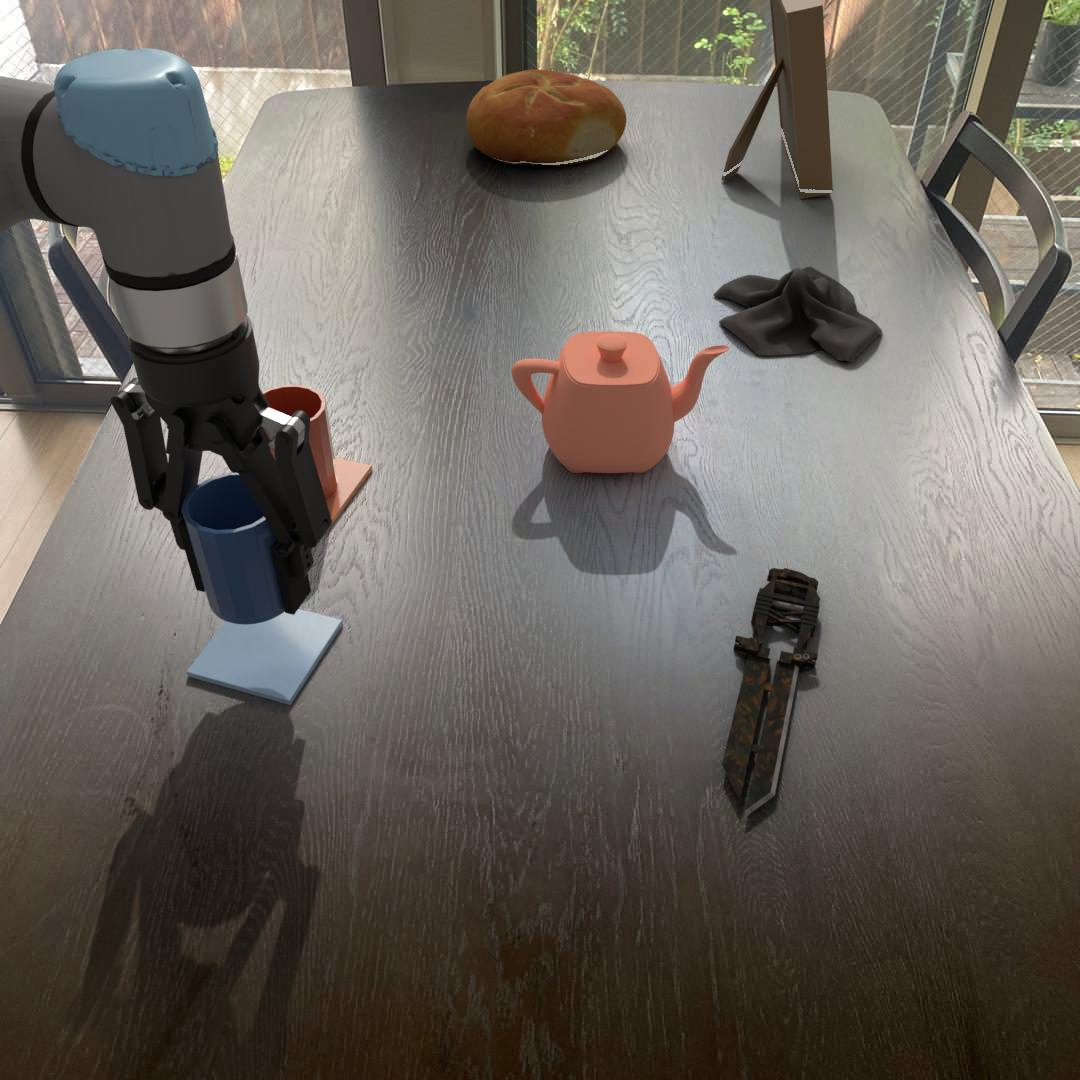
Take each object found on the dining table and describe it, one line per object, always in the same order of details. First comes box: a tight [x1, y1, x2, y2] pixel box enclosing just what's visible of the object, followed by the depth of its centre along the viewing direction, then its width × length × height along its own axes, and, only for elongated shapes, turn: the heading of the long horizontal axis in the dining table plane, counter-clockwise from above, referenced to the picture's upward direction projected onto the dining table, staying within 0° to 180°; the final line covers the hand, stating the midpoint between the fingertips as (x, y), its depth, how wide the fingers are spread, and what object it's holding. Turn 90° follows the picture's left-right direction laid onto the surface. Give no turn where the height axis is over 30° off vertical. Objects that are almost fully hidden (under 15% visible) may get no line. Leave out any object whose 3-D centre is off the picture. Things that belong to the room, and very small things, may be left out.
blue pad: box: [186, 608, 344, 706], centre depth 86 cm, size 9×9×1 cm
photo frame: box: [720, 0, 834, 200], centre depth 149 cm, size 15×22×25 cm
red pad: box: [324, 457, 374, 536], centre depth 101 cm, size 10×10×1 cm
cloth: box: [712, 266, 883, 363], centre depth 124 cm, size 22×19×6 cm
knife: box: [721, 567, 821, 819], centre depth 83 cm, size 25×6×1 cm, turn 157°
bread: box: [465, 69, 627, 167], centre depth 160 cm, size 23×23×10 cm
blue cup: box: [181, 471, 285, 625], centre depth 79 cm, size 7×7×9 cm
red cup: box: [262, 384, 338, 500], centre depth 98 cm, size 7×7×9 cm
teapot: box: [511, 330, 730, 474], centre depth 103 cm, size 13×20×12 cm
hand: (253, 590), depth 82 cm, fingers closed on blue cup, 7 cm apart
